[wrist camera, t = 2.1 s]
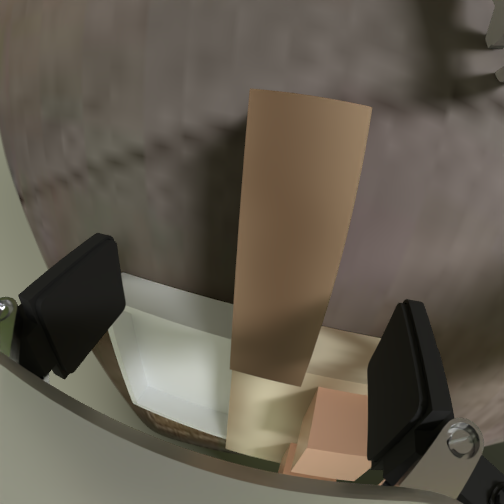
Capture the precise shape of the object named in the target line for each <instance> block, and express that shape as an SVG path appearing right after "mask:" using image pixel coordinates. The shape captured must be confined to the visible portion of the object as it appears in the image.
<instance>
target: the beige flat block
mask: <svg viewBox="0 0 504 504" xmlns="http://www.w3.org/2000/svg"><path fill="white" fill-rule="evenodd" d="M380 340H381V338H377V337H372V336H367V335H362V334H357V333H352V332H347V331H343V330H338V329H333V328H329V327H324V326H321V329H320V332H319V336H318V339H317V342H316V345H315V348H314V351H313V354H312V357H311V360H310V363H309V365H308V368H307V371H306V374H305V377H304V380H303V382H302V385H301V387H298V386H293V385H289V384H285V383H280V382H276V381H272V380H268V379H264V378H260V377H256V376H252V375H248V374H245V373H241V372H237V371H234V370H232V377H231V389H230V400H229V412H228V424H227V436H226V449H228V450H231V451H235V452H238V453H242V454H245V455H249V456H253V457H257V458H260V459H265V460H269V461H273V462H277V463H281V460H282V458H283V456H284V454H285V452H286V451H287V449H288V447H289V445H290V443H295V444H297V443H298V439H299V434H300V430H301V425H302V421H303V418H304V416H305V414H306V412H307V410H308V408H309V406H310V404H311V402H312V399H313V397H314V395H315V393H316V391H317V389H318V387H323V388H328V389H333V390H339V391H344V392H350V393H355V394H361V395H367V396H368V384H367V368H368V364H369V361H370V359H371V357H372V355H373V353H374V351H375V350H376V348H377V346H378V344H379V342H380Z"/></svg>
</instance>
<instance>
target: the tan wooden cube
mask: <svg viewBox="0 0 504 504" xmlns="http://www.w3.org/2000/svg"><path fill="white" fill-rule="evenodd" d="M296 447H297V444H295V443H290V445H289V447H288V449H287V451H286V452H285V454H284V456H283V458H282V460H281V463H280V467H279V471H278V473H280V474H286V475H291V476H298V477H304V478H311V479H318V480H325V481H333V482H336V479H332V478H325V477H318V476H312V475H306V474H300V473H295V472H290V471H291V467H292V464H293V460H294V455H295V451H296Z"/></svg>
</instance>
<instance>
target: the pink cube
mask: <svg viewBox="0 0 504 504" xmlns="http://www.w3.org/2000/svg"><path fill="white" fill-rule="evenodd" d="M367 436H368V396H367V395H361V394H355V393H350V392H344V391H339V390H333V389H328V388H323V387H318V389H317V391H316V393H315V395H314V397H313V399H312V402H311V404H310V406H309V408H308V410H307V412H306V414H305V416H304V418H303V421H302V425H301V430H300V434H299V439H298V443H297V447H296V451H295V455H294V460H293V464H292V467H291V471H290V472H295V473H300V474H306V475H312V476H318V477H325V478H332V479H340V480H349V481H355V480H356V479H357V478H358V477H360V476H361V475H362V474H364V472H366V471H367V470H368V469H370V468H371V461H368V459H367Z"/></svg>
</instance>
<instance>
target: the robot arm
mask: <svg viewBox="0 0 504 504" xmlns="http://www.w3.org/2000/svg"><path fill="white" fill-rule="evenodd" d="M19 299H20V301H21V304H20V305H19V306H18V305H17V302H16V300H14V299H13V298H10V297H1V298H0V504H504V475H503V474H502V473H501V472H500V471H499V470H498V469H497V468H496V467H495V466H494V465H492V464H491V463H490V462H489V461H488V460H487V459H486V458H484V456H482V452H483V449H484V439H483V435H482V433H481V431H480V429H479V427H478V426H477V425H476V424H475V423H474V422H472V421H470V420H468V419H465V418H454V414H453V408H452V403H451V398H450V394H449V389H448V385H447V380H446V376H445V372H444V368H443V364H442V360H441V357H440V353H439V350H438V348H437V345H436V342H435V338H434V335H433V332H432V328H431V325H430V322H429V319H428V315H427V312H426V309H425V306H424V304H423V303H422V302H418V301H413V300H408V299H406V300H405V301H404V302H403V303H398V304H397V306H396V308H395V310H394V313H393V315H392V317H391V319H390V321H389V323H388V325H387V328H386V330H385V332H384V334H383V336H382V338H381V340H380V342H379V344H378V346H377V348H376V350H375V351H374V353H373V355H372V357H371V359H370V361H369V364H368V368H367V384H368V436H367V459H368V461H371V470H383V478H384V480H383V481H382V482H381V483H380V484H379V485H369V484H354V483H342V482H333V481H325V480H318V479H311V478H304V477H298V476H291V475H286V474H280V473H275V472H270V471H265V470H260V469H256V468H252V467H247V466H243V465H239V464H235V463H232V462H228V461H224V460H221V459H217V458H214V457H210V456H207V455H204V454H201V453H198V452H195V451H192V450H188V449H186V448H182V447H180V446H177V445H174V444H171V443H169V442H166V441H163V440H161V439H158V438H155V437H153V436H151V435H148V434H145V433H143V432H141V431H139V430H136V429H134V428H132V427H129V426H127V425H125V424H123V423H121V422H119V421H116V420H114V419H112V418H110V417H108V416H106V415H104V414H102V413H100V412H98V411H96V410H94V409H92V408H90V407H88V406H86V405H85V404H83V403H81V402H79V401H77V400H75V399H74V398H72V397H70V396H68V395H67V394H65V393H63V392H61V391H60V390H58V389H56V388H55V387H53V386H51V385H50V384H49V372H50V371H51V370H52V371H53V372H54V373H55V374H56V375H58V376H60V377H61V378H63V379H66V377H67V376H68V375H69V374H70V373H73V372H74V371H75V370H76V369H77V368H78V366H79V365H80V364H81V363H82V361H83V360H84V359H85V357H86V356H87V355H88V354H89V352H90V351H91V350H92V349H93V347H94V346H95V345H96V344H97V343H98V341H99V340H100V339H101V338H102V336H103V335H104V334H105V333H106V332H107V330H108V329H109V328H110V327H111V325H112V324H113V323H114V322H115V321H116V319H117V318H118V317H119V316H120V315H121V314H122V312H123V311H124V309H125V306H126V300H125V295H124V289H123V283H122V277H121V270H120V264H119V257H118V249H117V244H116V242H115V241H114V239H113V237H111V236H109V235H105V234H100V233H96V234H94V235H93V236H92V237H90V238H89V239H88V240H86V241H85V242H84V243H82V244H81V245H80V246H78V247H77V248H76V249H74V250H73V251H72V252H70V253H69V254H68V255H66V256H65V257H64V258H63V259H61V260H60V261H59V262H58V263H56V264H55V265H54V266H53V267H51V268H50V269H49V270H48V271H46V272H45V273H44V274H43V275H41V276H40V277H39V278H38V279H37V280H35V281H34V282H33V283H32V284H31V285H29V287H27V288H26V289H25V290H24V291H23V292H21V293H20V294H19Z"/></svg>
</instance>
